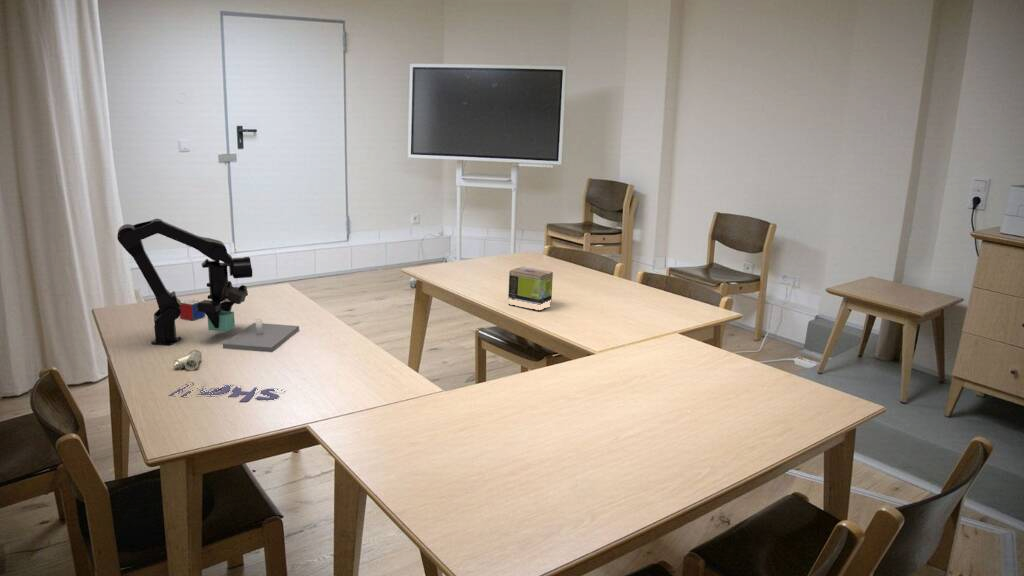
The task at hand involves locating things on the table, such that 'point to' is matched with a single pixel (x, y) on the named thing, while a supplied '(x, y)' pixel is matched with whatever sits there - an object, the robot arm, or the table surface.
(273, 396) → the signage
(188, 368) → the pipe fitting
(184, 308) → the puzzle
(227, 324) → the bead
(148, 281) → the robot arm
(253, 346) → the peg board
